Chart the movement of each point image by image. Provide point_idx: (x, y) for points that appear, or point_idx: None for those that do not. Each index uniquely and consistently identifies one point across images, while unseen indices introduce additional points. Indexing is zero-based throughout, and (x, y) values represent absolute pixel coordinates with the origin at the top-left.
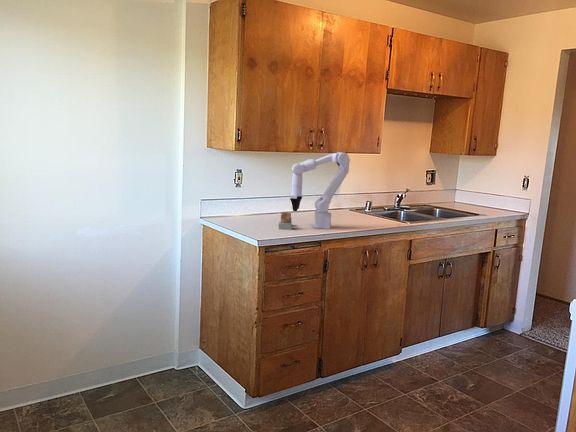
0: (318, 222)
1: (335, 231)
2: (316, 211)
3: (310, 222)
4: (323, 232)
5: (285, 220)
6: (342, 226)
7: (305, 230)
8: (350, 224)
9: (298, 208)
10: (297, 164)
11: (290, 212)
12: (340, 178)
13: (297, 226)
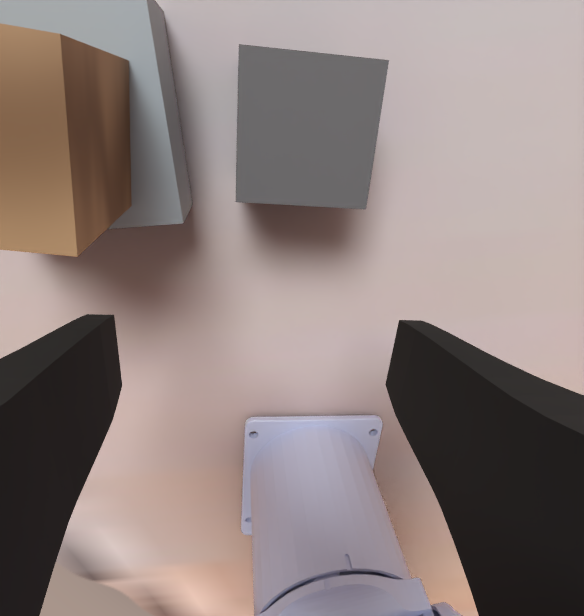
0: (254, 500)
1: (169, 563)
2: (285, 602)
3: (542, 370)
4: (77, 502)
5: None
6: None
7: None
8: (474, 604)
9: (389, 394)
10: None
11: (48, 248)
12: None
13: (293, 266)
